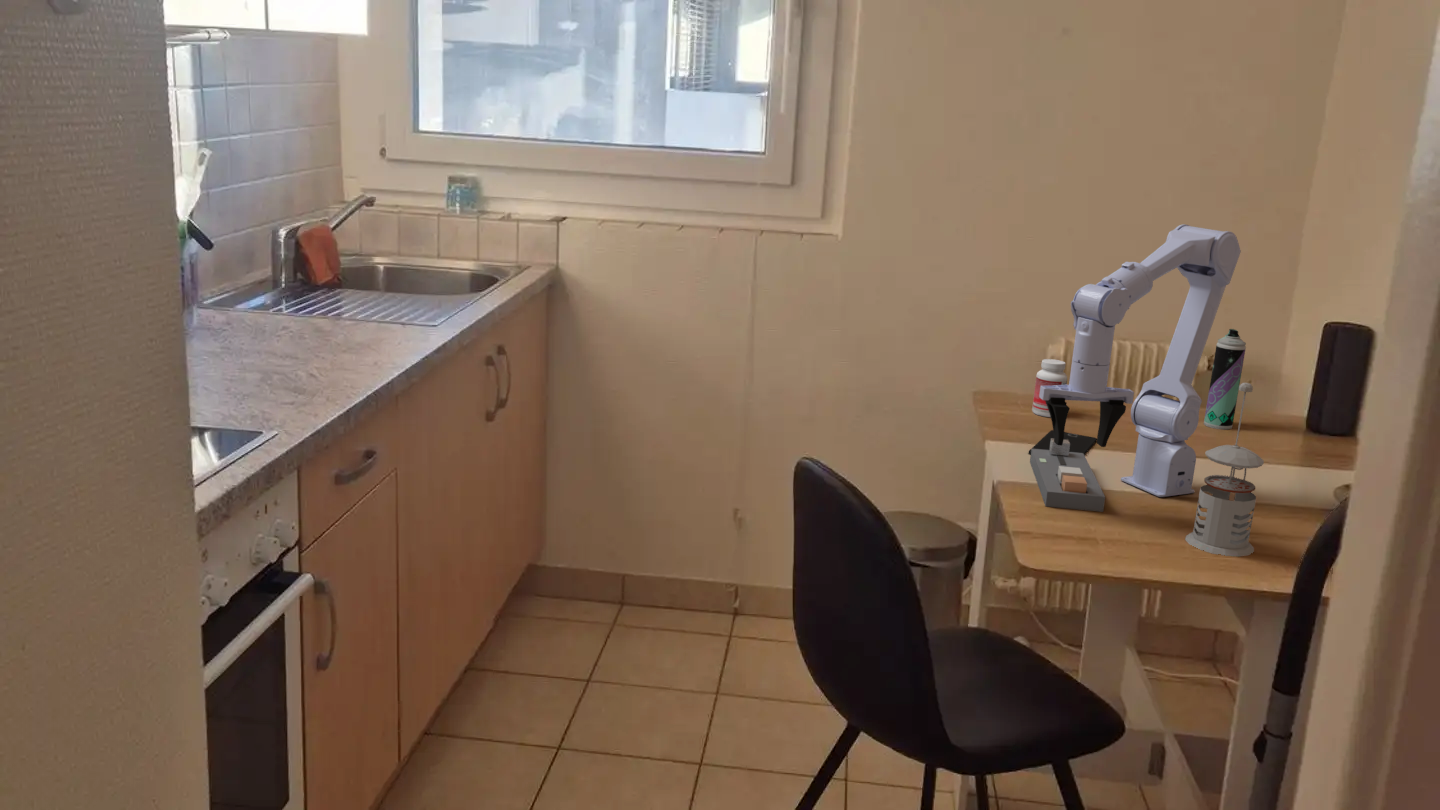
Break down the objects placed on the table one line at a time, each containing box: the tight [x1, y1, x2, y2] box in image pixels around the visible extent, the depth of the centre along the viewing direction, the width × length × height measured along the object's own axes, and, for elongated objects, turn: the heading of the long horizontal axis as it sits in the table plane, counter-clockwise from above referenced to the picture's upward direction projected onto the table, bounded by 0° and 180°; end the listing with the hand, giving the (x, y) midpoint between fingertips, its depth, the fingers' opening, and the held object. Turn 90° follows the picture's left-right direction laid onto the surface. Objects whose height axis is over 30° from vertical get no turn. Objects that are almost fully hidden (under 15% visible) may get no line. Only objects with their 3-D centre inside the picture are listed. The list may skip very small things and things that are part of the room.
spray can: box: [1203, 328, 1247, 430], centre depth 252 cm, size 6×6×20 cm
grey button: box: [1057, 466, 1083, 482], centre depth 206 cm, size 3×3×2 cm
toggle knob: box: [1049, 438, 1070, 456], centre depth 220 cm, size 2×3×2 cm
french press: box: [1185, 382, 1265, 558], centre depth 185 cm, size 10×12×25 cm
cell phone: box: [1027, 429, 1097, 456], centre depth 233 cm, size 9×18×1 cm, turn 152°
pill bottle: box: [1031, 358, 1068, 418], centre depth 255 cm, size 6×6×11 cm
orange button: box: [1061, 475, 1087, 493], centre depth 202 cm, size 3×3×2 cm
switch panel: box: [1029, 448, 1106, 513], centre depth 211 cm, size 24×9×3 cm, turn 172°
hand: (1079, 444), depth 200 cm, fingers open, 6 cm apart
